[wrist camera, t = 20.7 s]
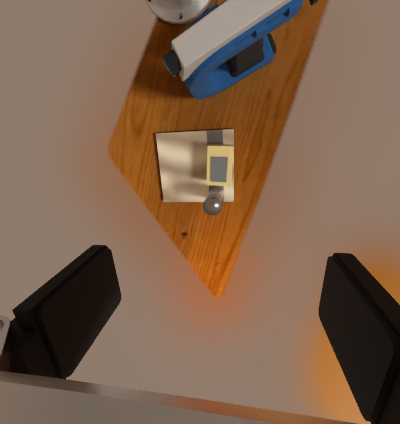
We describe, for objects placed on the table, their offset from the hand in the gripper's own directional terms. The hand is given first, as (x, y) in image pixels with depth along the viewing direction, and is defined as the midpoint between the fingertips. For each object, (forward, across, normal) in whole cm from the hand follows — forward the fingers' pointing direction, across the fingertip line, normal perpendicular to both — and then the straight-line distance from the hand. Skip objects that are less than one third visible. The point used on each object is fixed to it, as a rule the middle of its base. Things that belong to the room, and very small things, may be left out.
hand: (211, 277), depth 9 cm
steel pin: (+35, +3, +6) cm, 36 cm away
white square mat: (+36, +7, +1) cm, 37 cm away
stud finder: (+35, +2, 0) cm, 35 cm away
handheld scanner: (+36, -1, -16) cm, 40 cm away
